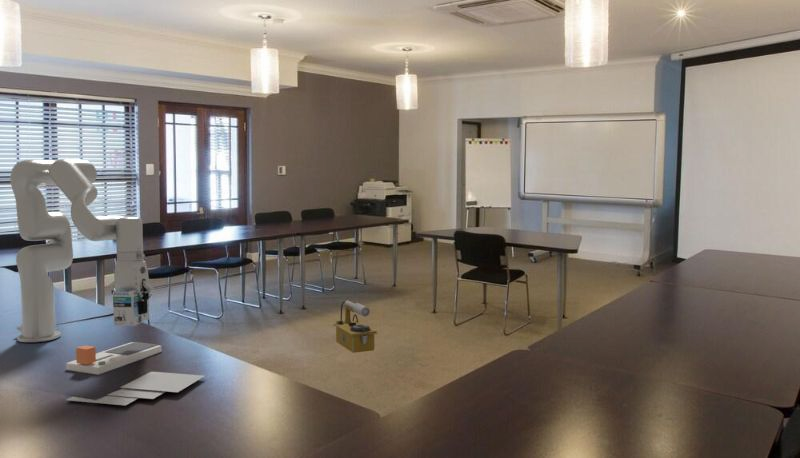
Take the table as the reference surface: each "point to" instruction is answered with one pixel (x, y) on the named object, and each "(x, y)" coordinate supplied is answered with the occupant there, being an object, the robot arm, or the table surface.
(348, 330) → the geiger counter
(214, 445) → the table surface
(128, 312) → the light bulb box
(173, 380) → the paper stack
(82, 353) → the handle
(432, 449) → the table surface
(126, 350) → the panel
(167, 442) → the table surface
